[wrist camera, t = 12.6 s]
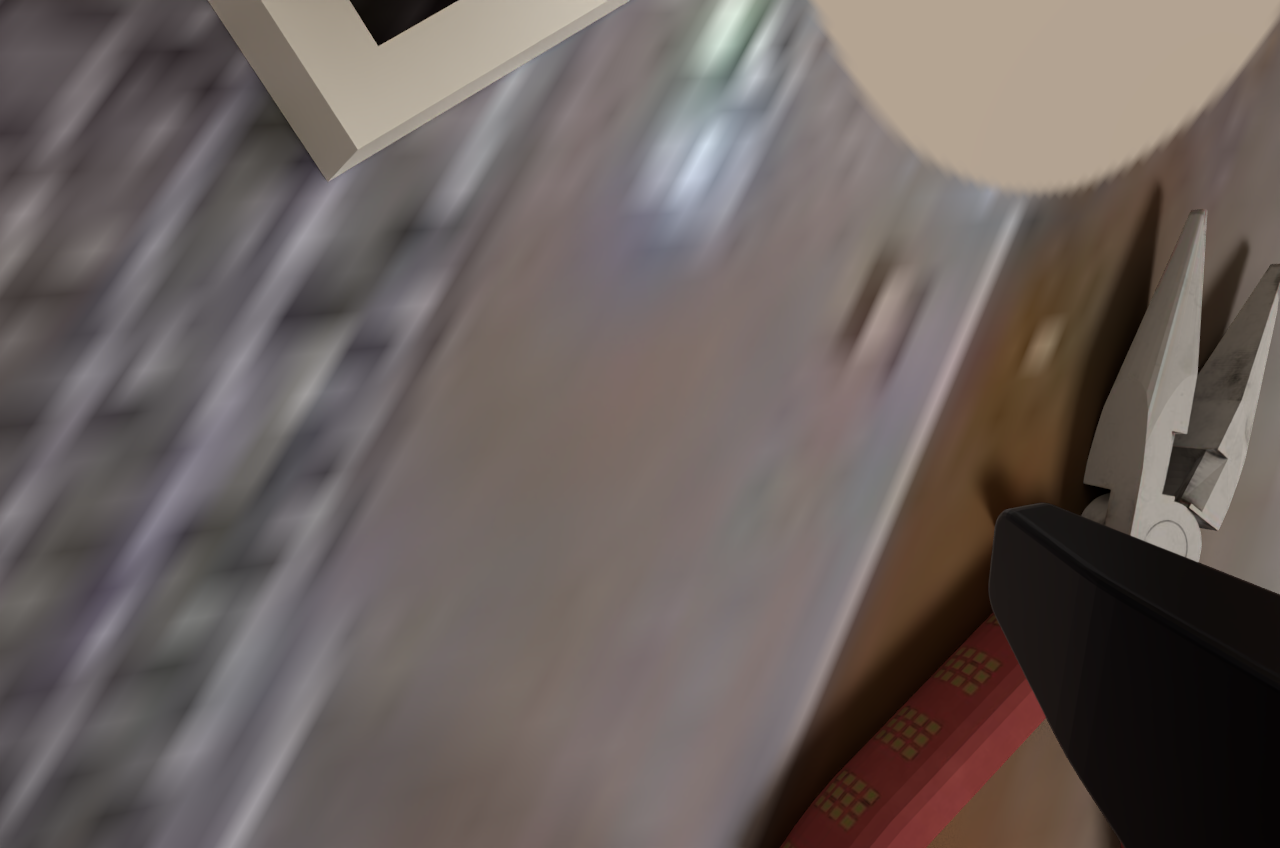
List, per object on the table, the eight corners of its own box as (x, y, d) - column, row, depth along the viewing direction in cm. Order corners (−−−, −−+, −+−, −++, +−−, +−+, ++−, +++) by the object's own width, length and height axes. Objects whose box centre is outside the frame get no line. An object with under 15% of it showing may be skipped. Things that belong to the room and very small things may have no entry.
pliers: (1354, 336, 28) (1464, 336, 26) (1086, 1133, 27) (1175, 1212, 25) (1005, 129, 24) (1097, 107, 22) (669, 1060, 23) (726, 1146, 20)
